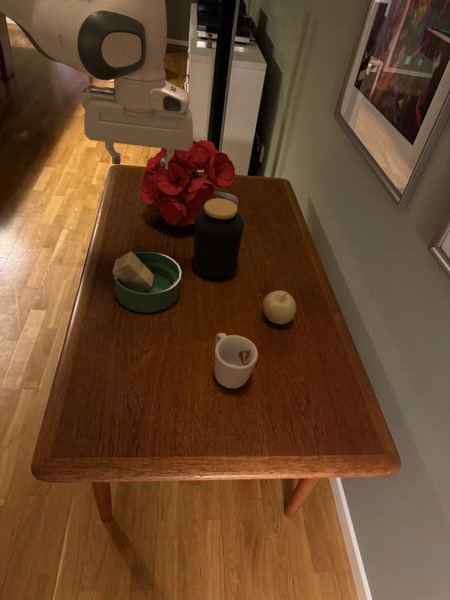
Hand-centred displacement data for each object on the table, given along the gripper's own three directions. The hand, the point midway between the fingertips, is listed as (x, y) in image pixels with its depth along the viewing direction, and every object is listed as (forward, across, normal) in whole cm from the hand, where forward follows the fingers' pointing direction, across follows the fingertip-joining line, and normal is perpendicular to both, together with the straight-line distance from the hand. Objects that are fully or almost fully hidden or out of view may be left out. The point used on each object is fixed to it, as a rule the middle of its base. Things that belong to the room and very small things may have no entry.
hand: (140, 165), depth 81 cm
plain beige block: (+25, +2, -8) cm, 26 cm away
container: (+27, +18, +3) cm, 33 cm away
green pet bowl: (+27, +2, -8) cm, 28 cm away
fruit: (+27, +32, -14) cm, 44 cm away
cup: (+27, +20, -30) cm, 45 cm away
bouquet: (+27, +12, +26) cm, 40 cm away
